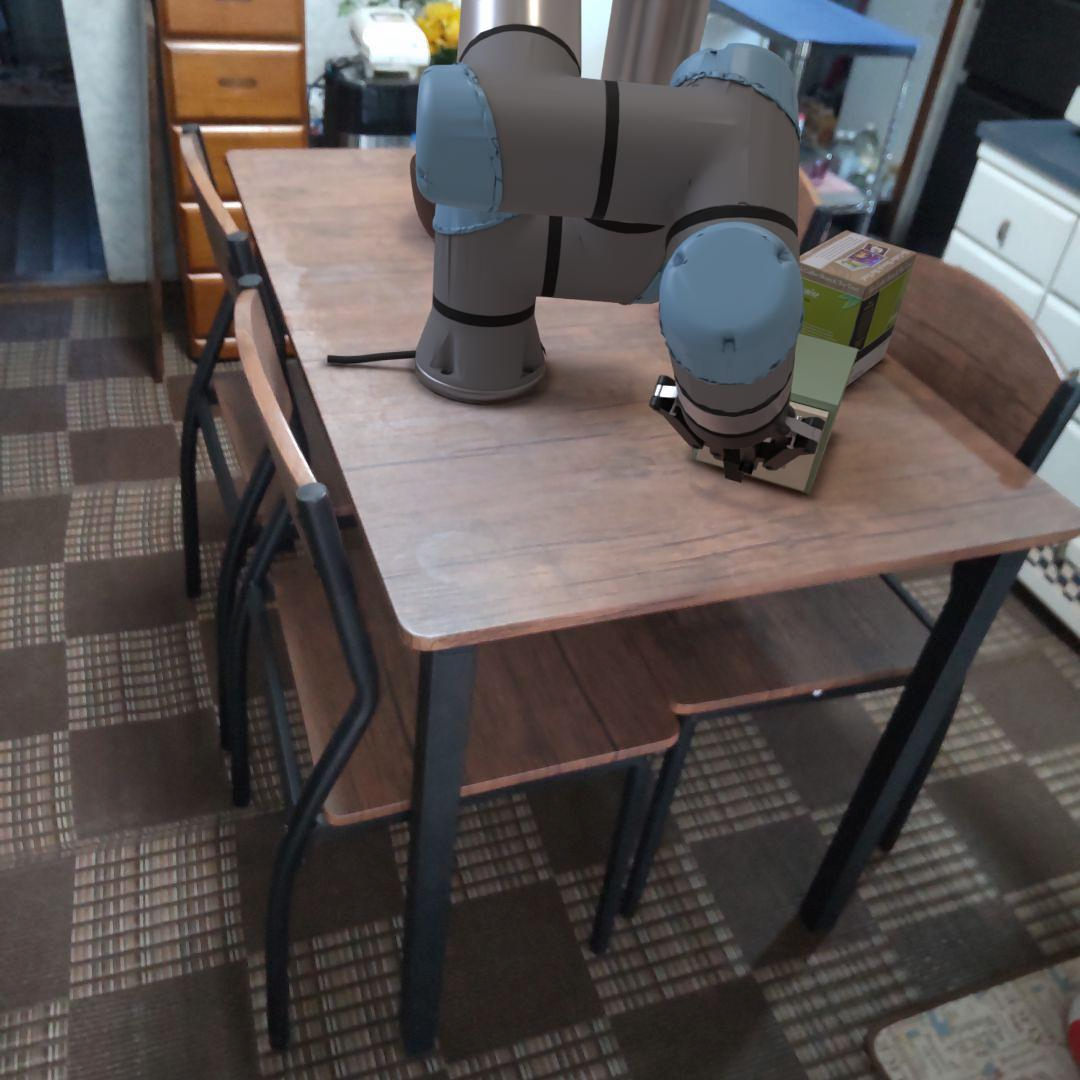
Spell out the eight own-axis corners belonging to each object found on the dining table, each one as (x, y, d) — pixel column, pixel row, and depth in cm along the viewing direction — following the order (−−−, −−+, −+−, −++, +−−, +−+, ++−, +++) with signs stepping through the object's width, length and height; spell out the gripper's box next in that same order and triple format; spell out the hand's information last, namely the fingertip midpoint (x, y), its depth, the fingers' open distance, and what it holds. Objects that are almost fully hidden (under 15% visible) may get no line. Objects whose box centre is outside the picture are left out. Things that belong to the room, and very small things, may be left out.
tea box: (816, 332, 135) (847, 226, 126) (885, 360, 130) (922, 251, 121) (762, 368, 125) (791, 255, 116) (834, 399, 121) (870, 284, 112)
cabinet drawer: (795, 513, 99) (819, 438, 94) (684, 479, 102) (701, 404, 97) (824, 434, 112) (847, 364, 106) (725, 406, 115) (742, 336, 109)
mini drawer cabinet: (809, 494, 104) (838, 405, 97) (692, 459, 107) (712, 370, 100) (831, 433, 114) (858, 348, 108) (723, 403, 117) (743, 319, 111)
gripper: (849, 354, 65) (823, 448, 87) (658, 304, 68) (681, 407, 91) (813, 461, 64) (796, 528, 87) (622, 406, 67) (654, 484, 90)
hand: (737, 466), depth 89 cm, fingers closed
